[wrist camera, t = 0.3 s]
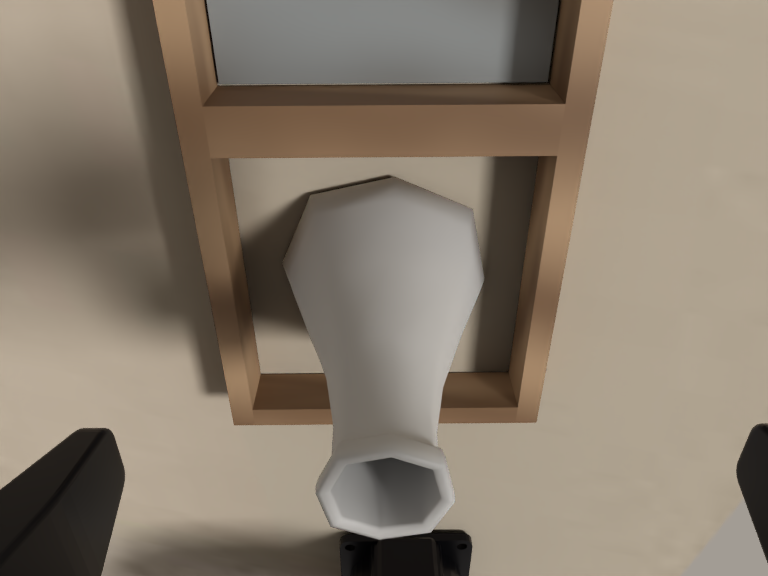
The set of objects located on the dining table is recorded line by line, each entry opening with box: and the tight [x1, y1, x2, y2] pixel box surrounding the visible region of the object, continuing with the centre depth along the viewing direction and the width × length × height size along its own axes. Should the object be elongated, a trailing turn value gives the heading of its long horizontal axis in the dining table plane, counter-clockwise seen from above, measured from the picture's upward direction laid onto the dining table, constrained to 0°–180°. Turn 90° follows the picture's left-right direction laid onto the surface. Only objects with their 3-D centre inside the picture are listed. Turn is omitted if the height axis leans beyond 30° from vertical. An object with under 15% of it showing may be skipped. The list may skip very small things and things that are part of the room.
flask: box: [282, 177, 484, 540], centre depth 18 cm, size 7×7×10 cm
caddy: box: [152, 0, 613, 425], centre depth 18 cm, size 23×12×2 cm, turn 0°
